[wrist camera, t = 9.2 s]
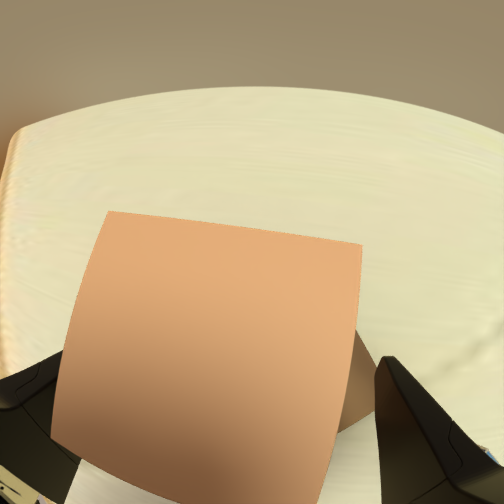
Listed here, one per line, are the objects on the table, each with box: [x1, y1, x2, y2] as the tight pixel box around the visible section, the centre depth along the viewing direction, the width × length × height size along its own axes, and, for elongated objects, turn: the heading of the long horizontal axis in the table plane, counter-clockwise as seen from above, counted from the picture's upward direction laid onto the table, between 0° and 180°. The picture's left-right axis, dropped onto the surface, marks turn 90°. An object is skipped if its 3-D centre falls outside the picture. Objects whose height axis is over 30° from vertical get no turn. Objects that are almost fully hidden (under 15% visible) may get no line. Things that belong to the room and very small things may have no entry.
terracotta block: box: [51, 211, 362, 504], centre depth 11 cm, size 5×5×14 cm
